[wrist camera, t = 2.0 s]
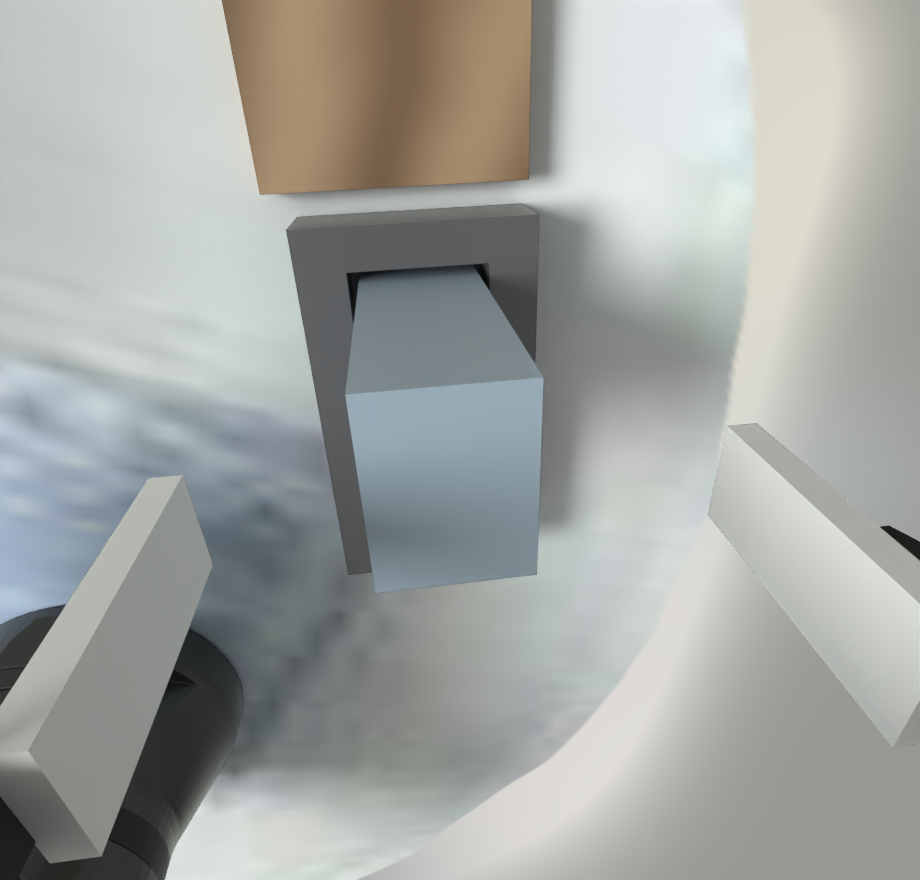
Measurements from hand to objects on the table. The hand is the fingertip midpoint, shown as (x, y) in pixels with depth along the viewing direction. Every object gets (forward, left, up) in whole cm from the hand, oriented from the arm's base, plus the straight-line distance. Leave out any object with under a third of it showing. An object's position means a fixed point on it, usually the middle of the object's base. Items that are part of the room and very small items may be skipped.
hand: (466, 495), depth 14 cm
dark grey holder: (0, -3, -13) cm, 13 cm away
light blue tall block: (0, 0, -12) cm, 12 cm away
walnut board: (-1, +11, -13) cm, 17 cm away
